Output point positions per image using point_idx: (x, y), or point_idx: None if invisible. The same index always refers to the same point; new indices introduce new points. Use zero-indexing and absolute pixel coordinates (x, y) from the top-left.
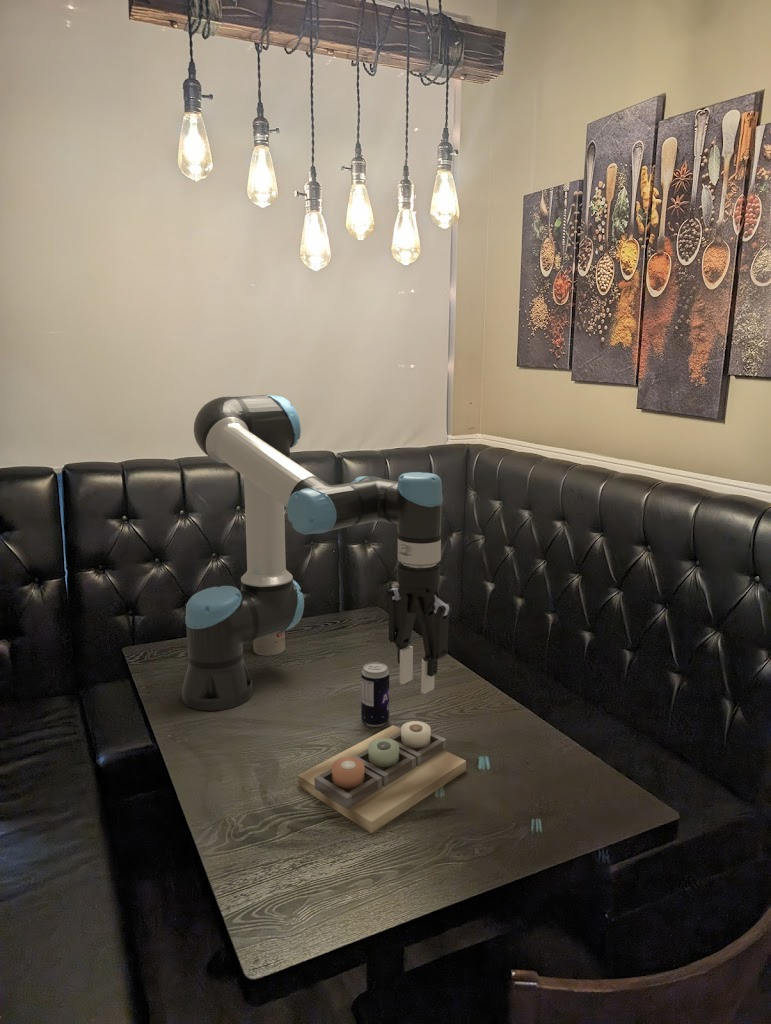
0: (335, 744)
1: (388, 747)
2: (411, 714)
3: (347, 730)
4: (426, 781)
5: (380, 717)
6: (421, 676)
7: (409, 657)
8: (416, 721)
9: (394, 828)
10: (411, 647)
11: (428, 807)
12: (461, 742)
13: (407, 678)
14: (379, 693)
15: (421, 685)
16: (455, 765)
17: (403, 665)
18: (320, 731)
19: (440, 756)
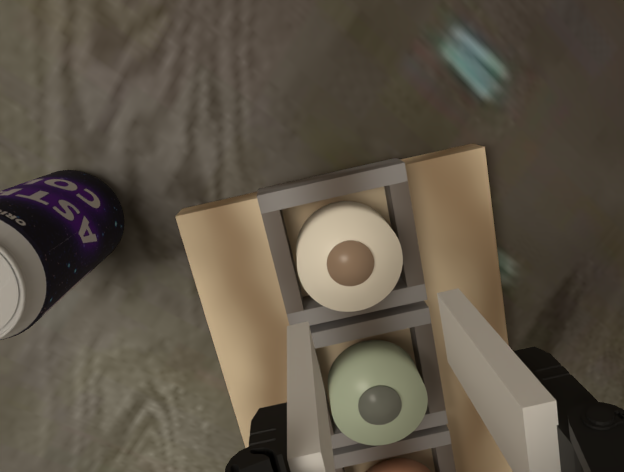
0: (148, 375)
1: (399, 401)
2: (91, 75)
3: (91, 313)
4: (489, 306)
5: (116, 233)
6: (478, 413)
7: (323, 433)
8: (309, 232)
9: None
10: (323, 466)
11: (525, 323)
12: (343, 44)
13: (318, 368)
14: (78, 267)
15: (461, 382)
16: (483, 191)
17: (332, 455)
18: (59, 379)
19: (418, 199)
